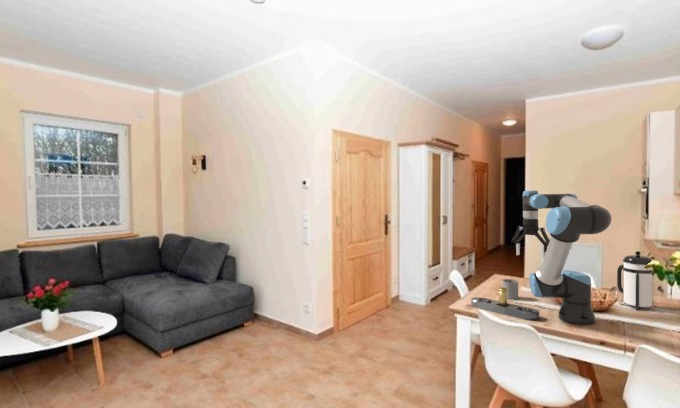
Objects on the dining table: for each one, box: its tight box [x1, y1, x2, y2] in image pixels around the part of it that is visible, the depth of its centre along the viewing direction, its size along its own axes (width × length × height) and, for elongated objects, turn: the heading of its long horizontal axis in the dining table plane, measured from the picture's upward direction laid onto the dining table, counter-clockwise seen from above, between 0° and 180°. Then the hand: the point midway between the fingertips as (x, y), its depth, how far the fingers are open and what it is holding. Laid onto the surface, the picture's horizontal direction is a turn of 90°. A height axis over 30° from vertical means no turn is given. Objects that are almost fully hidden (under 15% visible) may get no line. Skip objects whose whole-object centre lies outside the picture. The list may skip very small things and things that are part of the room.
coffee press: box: [616, 250, 657, 311], centre depth 195 cm, size 17×16×30 cm
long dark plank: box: [470, 296, 540, 322], centre depth 191 cm, size 35×9×4 cm, turn 41°
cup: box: [502, 278, 519, 301], centre depth 215 cm, size 8×8×10 cm
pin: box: [498, 287, 508, 307], centre depth 191 cm, size 5×5×12 cm
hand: (530, 256), depth 202 cm, fingers open, 13 cm apart
